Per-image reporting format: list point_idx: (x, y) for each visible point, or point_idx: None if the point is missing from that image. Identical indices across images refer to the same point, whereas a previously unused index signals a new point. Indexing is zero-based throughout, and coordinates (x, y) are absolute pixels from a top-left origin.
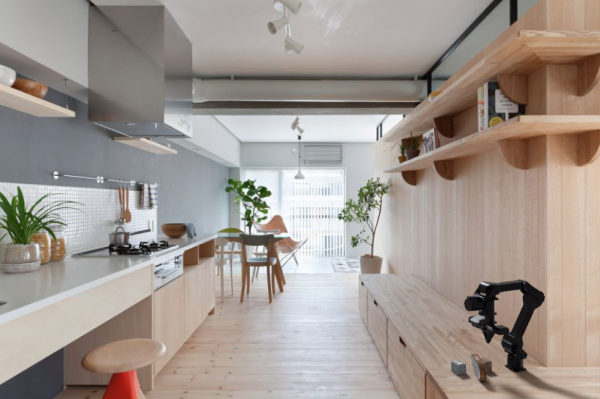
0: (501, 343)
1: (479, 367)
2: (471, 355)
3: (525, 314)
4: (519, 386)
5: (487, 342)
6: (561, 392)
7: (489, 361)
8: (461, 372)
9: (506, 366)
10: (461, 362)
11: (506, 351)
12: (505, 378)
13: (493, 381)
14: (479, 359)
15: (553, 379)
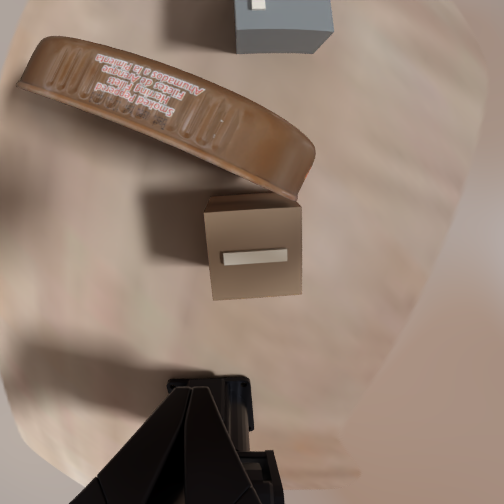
0: (265, 490)
1: (40, 42)
2: (296, 129)
3: None
4: (28, 274)
5: (178, 395)
6: (7, 382)
7: (216, 280)
8: (234, 10)
9: (233, 379)
10: (276, 13)
11: (255, 457)
12: (107, 272)
13: (86, 167)
14: (99, 92)
15: (96, 439)
